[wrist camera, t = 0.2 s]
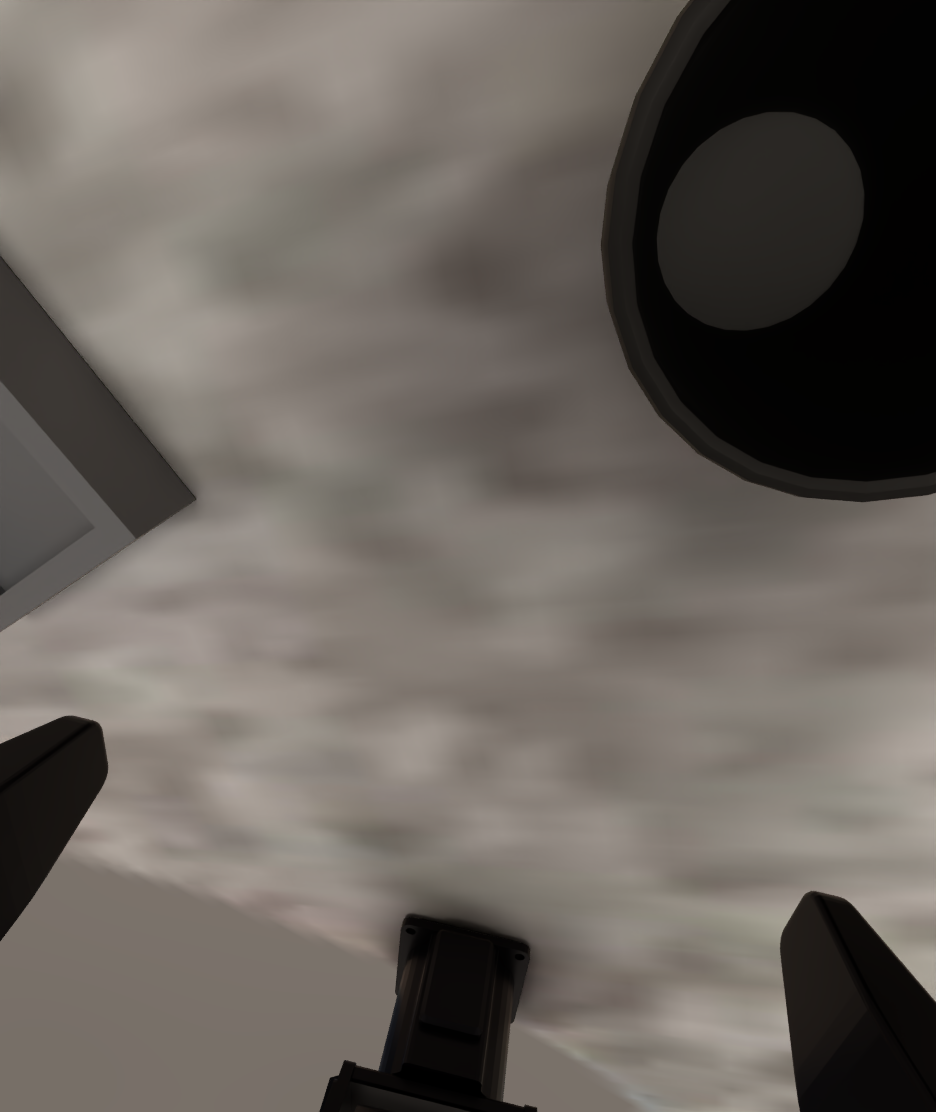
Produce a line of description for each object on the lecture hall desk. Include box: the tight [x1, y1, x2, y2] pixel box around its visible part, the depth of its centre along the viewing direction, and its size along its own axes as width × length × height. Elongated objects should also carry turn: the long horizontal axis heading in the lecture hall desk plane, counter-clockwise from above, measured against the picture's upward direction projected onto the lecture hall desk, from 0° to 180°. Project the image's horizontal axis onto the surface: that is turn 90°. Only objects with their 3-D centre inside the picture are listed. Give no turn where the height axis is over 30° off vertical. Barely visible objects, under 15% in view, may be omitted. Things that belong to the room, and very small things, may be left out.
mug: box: [601, 0, 936, 502], centre depth 13 cm, size 8×12×10 cm
